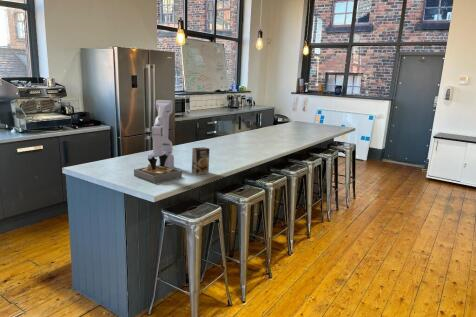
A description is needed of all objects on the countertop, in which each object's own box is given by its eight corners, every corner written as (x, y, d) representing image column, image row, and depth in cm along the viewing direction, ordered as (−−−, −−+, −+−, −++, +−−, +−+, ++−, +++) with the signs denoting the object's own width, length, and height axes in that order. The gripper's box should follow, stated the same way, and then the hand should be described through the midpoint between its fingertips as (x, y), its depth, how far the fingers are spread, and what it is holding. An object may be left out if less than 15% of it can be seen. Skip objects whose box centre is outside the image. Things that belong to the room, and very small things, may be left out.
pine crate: (156, 171, 226) (156, 162, 224) (172, 174, 220) (172, 165, 218) (141, 175, 214) (141, 166, 213) (158, 179, 208) (158, 170, 207)
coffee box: (196, 175, 224) (197, 149, 220) (191, 172, 229) (191, 147, 225) (209, 173, 229) (209, 148, 225) (203, 171, 234) (204, 146, 230)
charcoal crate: (161, 170, 231) (161, 164, 230) (181, 177, 218) (181, 170, 217) (134, 175, 216) (133, 169, 215) (153, 183, 203) (153, 176, 202)
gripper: (160, 143, 221) (160, 165, 224) (144, 147, 208) (144, 169, 211) (169, 145, 218) (169, 166, 221) (153, 148, 205) (153, 171, 208)
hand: (157, 168), depth 216 cm, fingers open, 7 cm apart
